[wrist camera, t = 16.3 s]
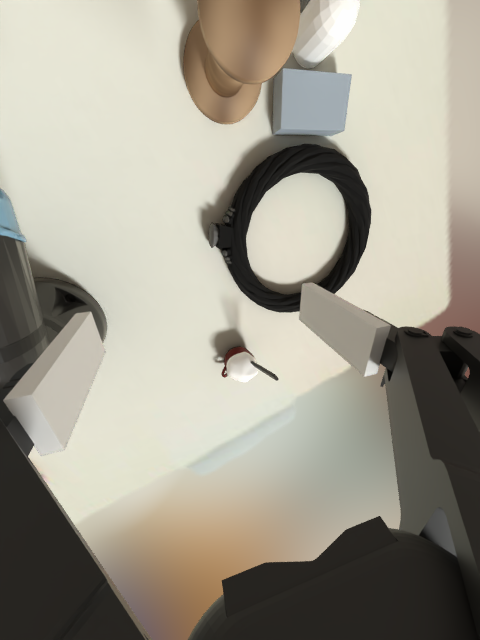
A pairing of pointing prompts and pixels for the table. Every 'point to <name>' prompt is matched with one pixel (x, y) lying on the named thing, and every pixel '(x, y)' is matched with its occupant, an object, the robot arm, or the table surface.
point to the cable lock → (251, 193)
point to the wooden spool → (237, 53)
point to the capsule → (323, 29)
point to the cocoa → (242, 365)
